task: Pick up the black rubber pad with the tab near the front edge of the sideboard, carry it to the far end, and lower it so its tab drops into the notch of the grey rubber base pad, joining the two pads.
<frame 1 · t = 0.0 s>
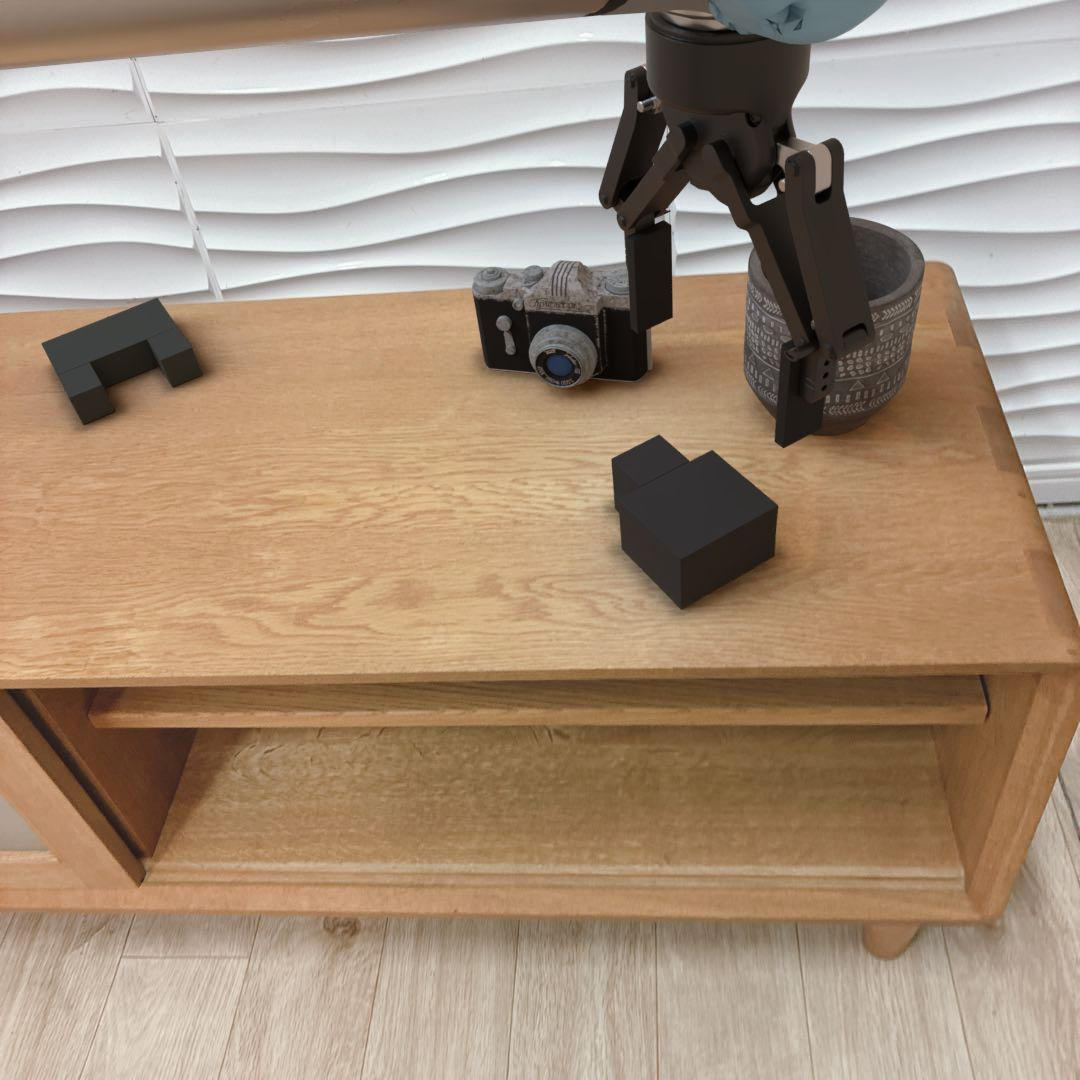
hand: (720, 375, 63), 16 cm above the table, tool pointing down, fingers open, 13 cm apart
camera: (562, 376, 91), on the table
planter: (819, 403, 85), on the table
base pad: (128, 372, 97), on the table
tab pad: (696, 552, 75), on the table
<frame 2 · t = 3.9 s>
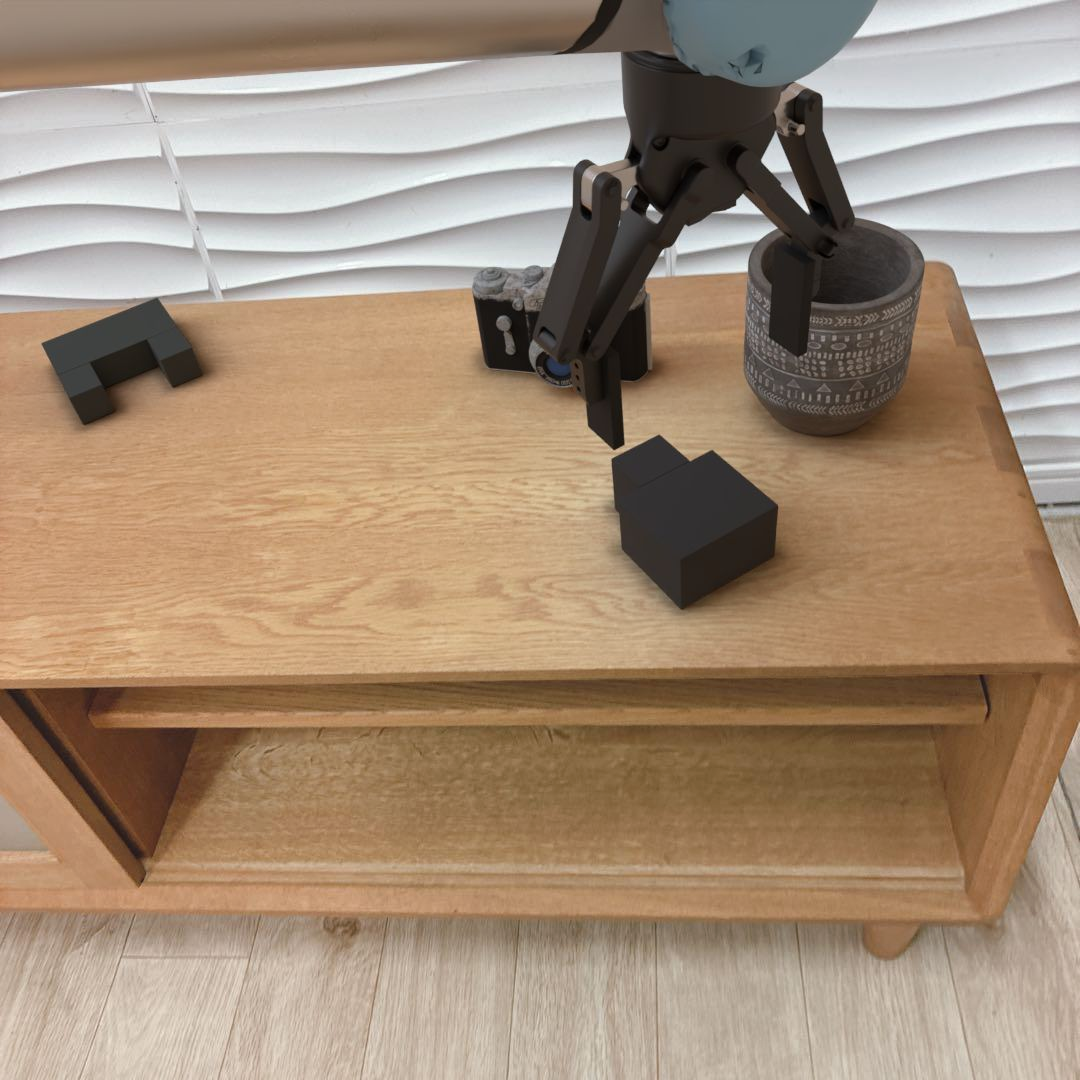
hand: (699, 389, 65), 15 cm above the table, tool pointing down, fingers open, 13 cm apart
nothing on the table moved.
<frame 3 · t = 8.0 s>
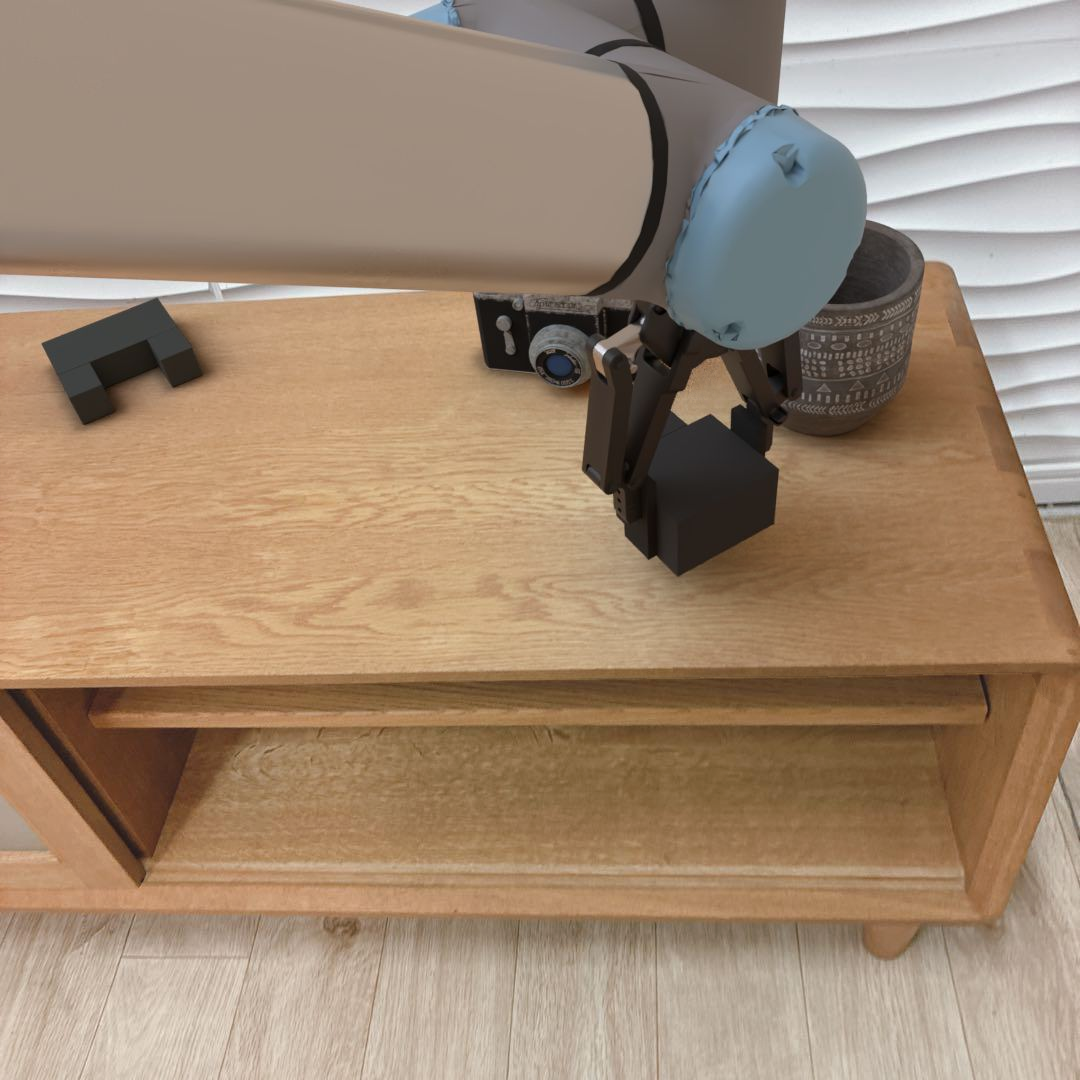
hand: (694, 516, 72), 4 cm above the table, tool pointing down, fingers closed on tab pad, 8 cm apart
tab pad: (694, 520, 73), point 3 cm above the table, touching gripper
everything else where it was.
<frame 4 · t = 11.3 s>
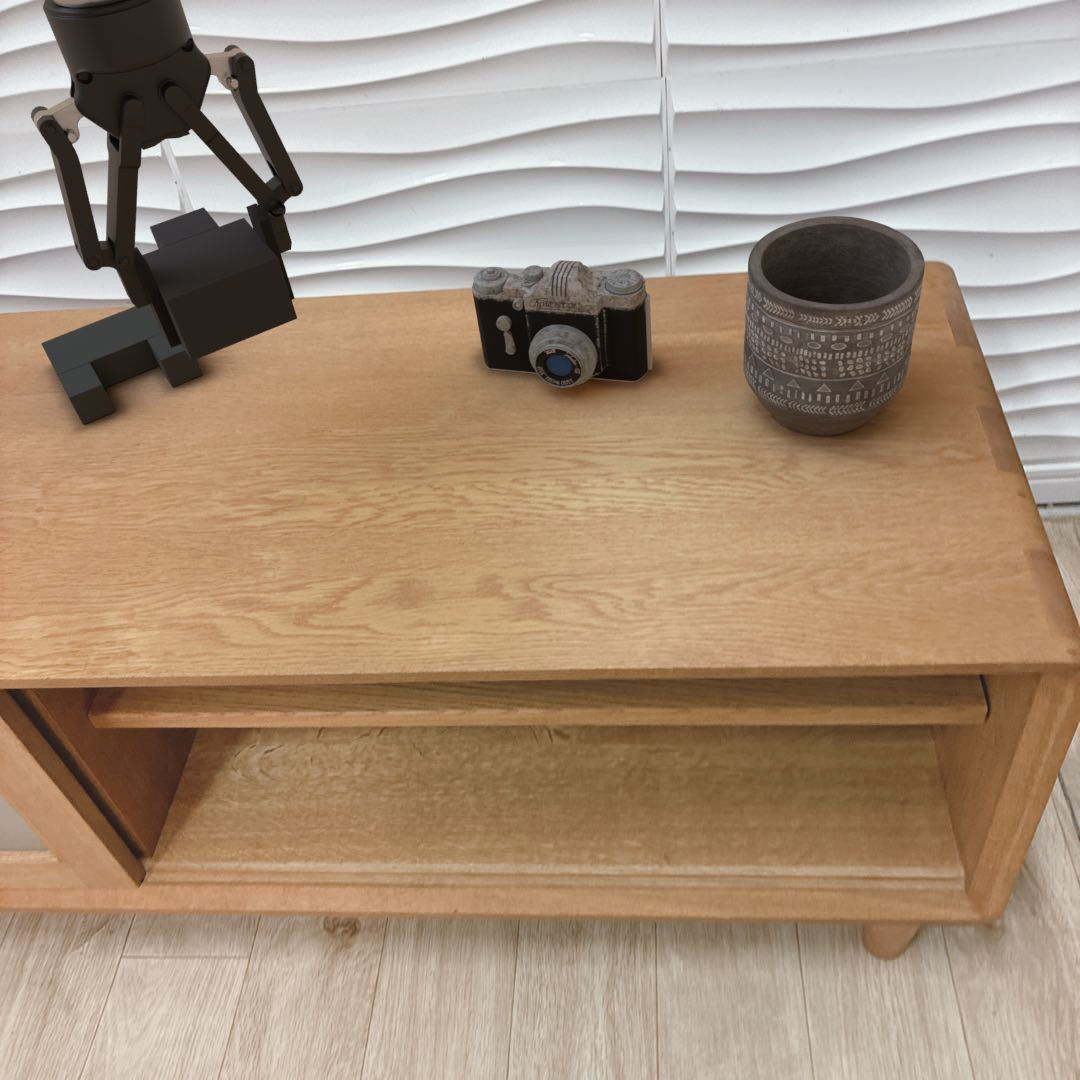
hand: (228, 314, 78), 13 cm above the table, tool pointing down, fingers closed on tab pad, 8 cm apart
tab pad: (229, 317, 78), point 13 cm above the table, touching gripper
everything else where it was.
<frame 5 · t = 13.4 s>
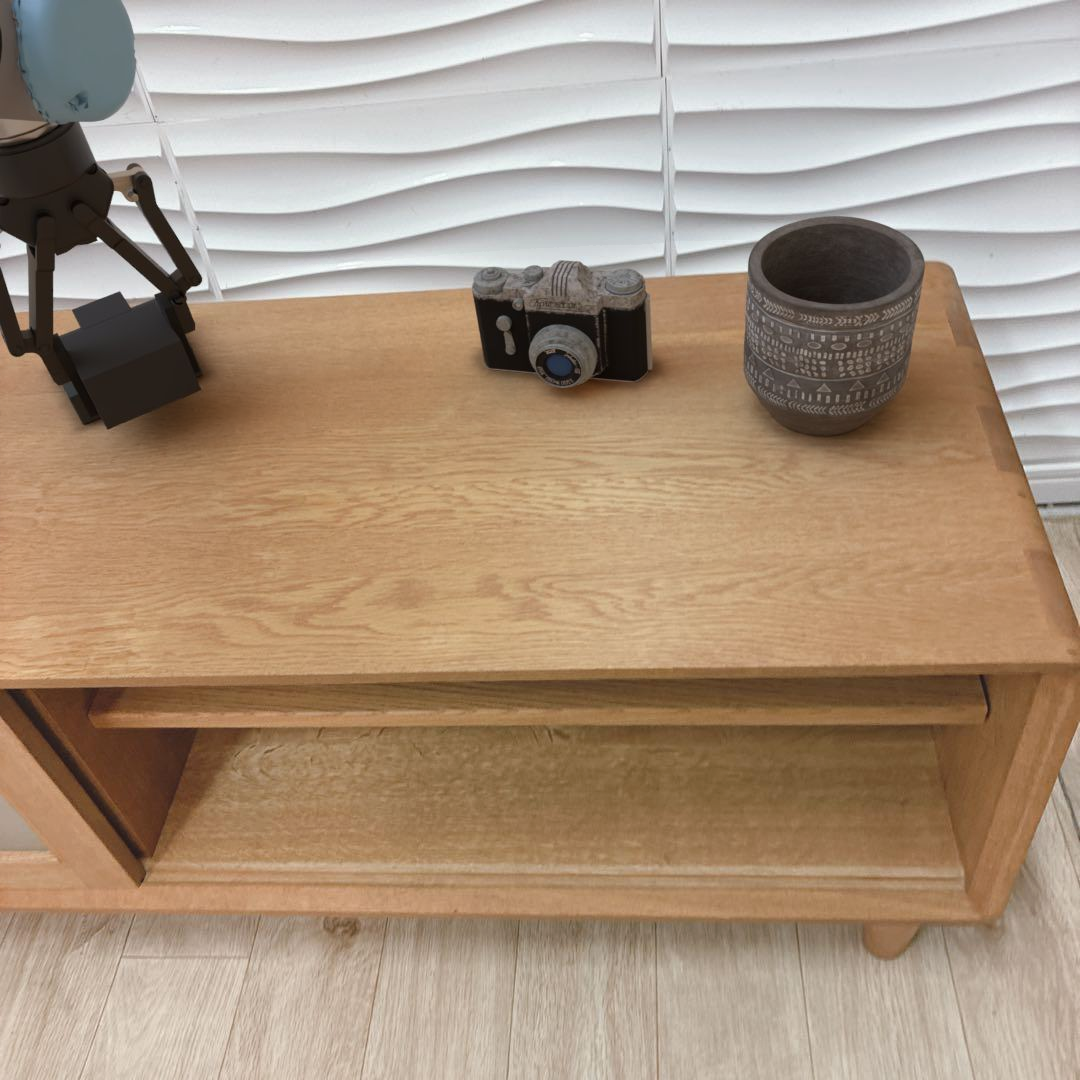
hand: (141, 386, 89), 4 cm above the table, tool pointing down, fingers closed on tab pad, 8 cm apart
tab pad: (142, 388, 89), point 4 cm above the table, touching gripper
everything else where it was.
when the fingers open (0 cm above the table, at t = 14.8 s): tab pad stays where it is, on the table.
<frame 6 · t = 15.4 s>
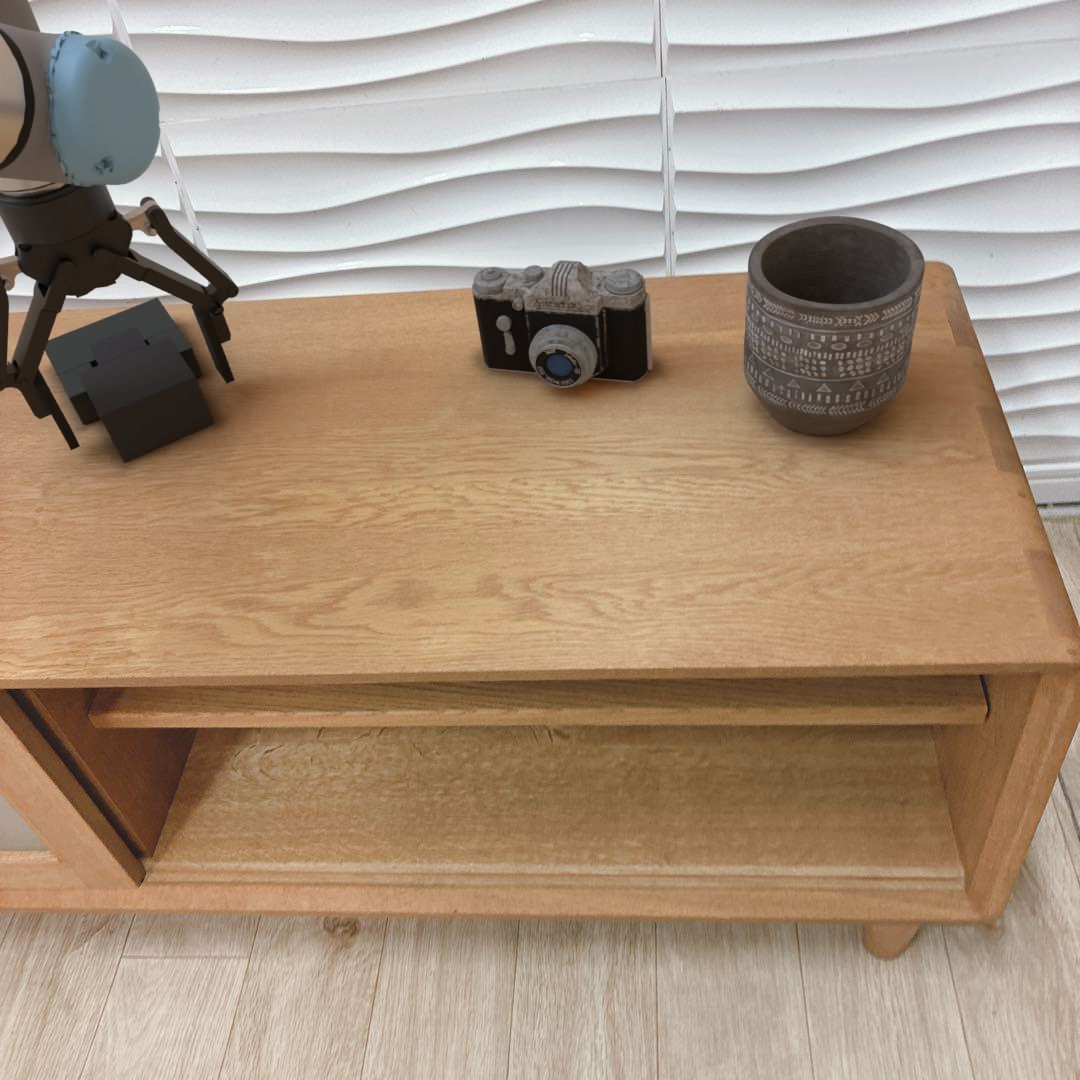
hand: (150, 406, 91), 2 cm above the table, tool pointing down, fingers open, 13 cm apart
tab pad: (157, 421, 92), on the table
everything else where it was.
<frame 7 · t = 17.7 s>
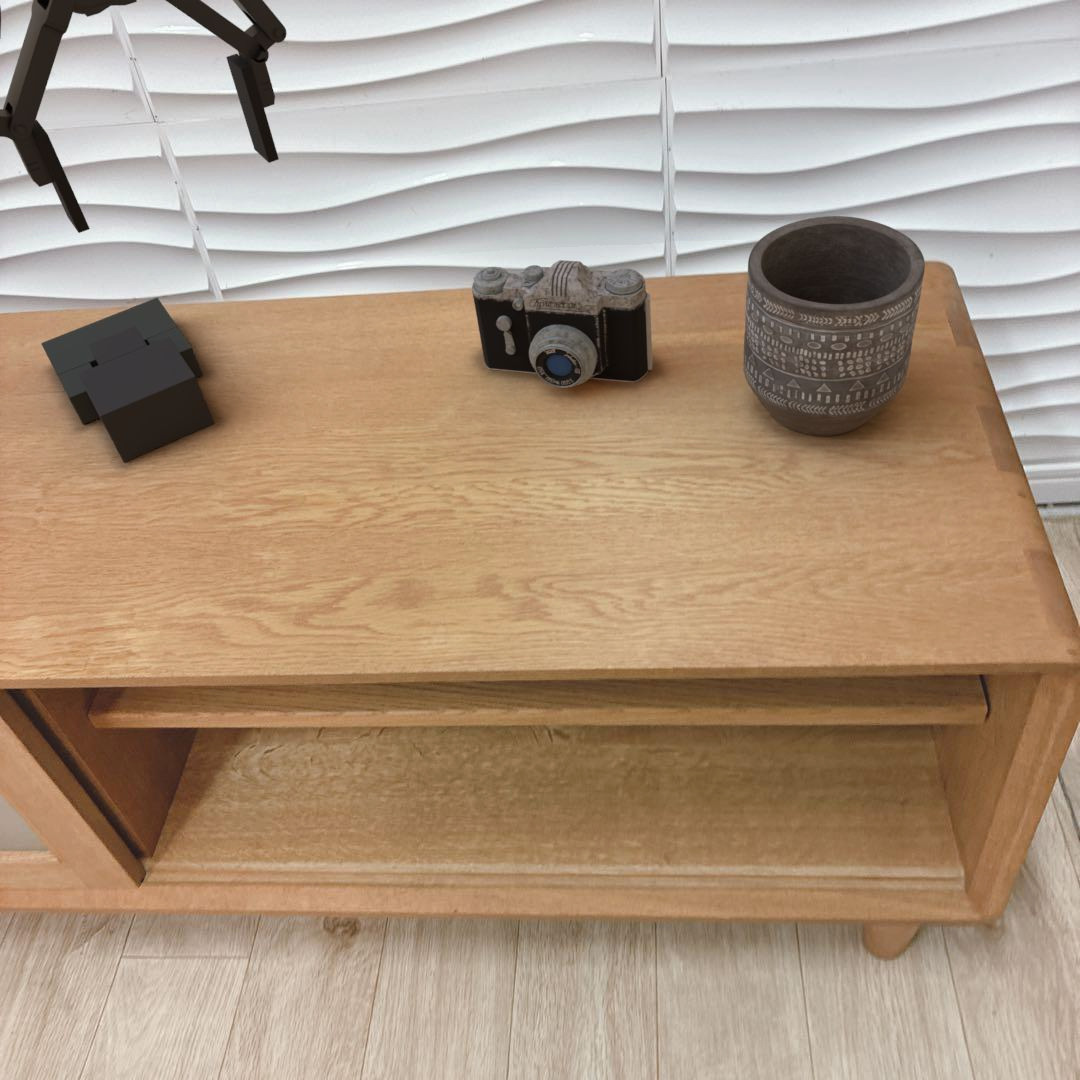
hand: (175, 188, 74), 22 cm above the table, tool pointing down, fingers open, 13 cm apart
nothing on the table moved.
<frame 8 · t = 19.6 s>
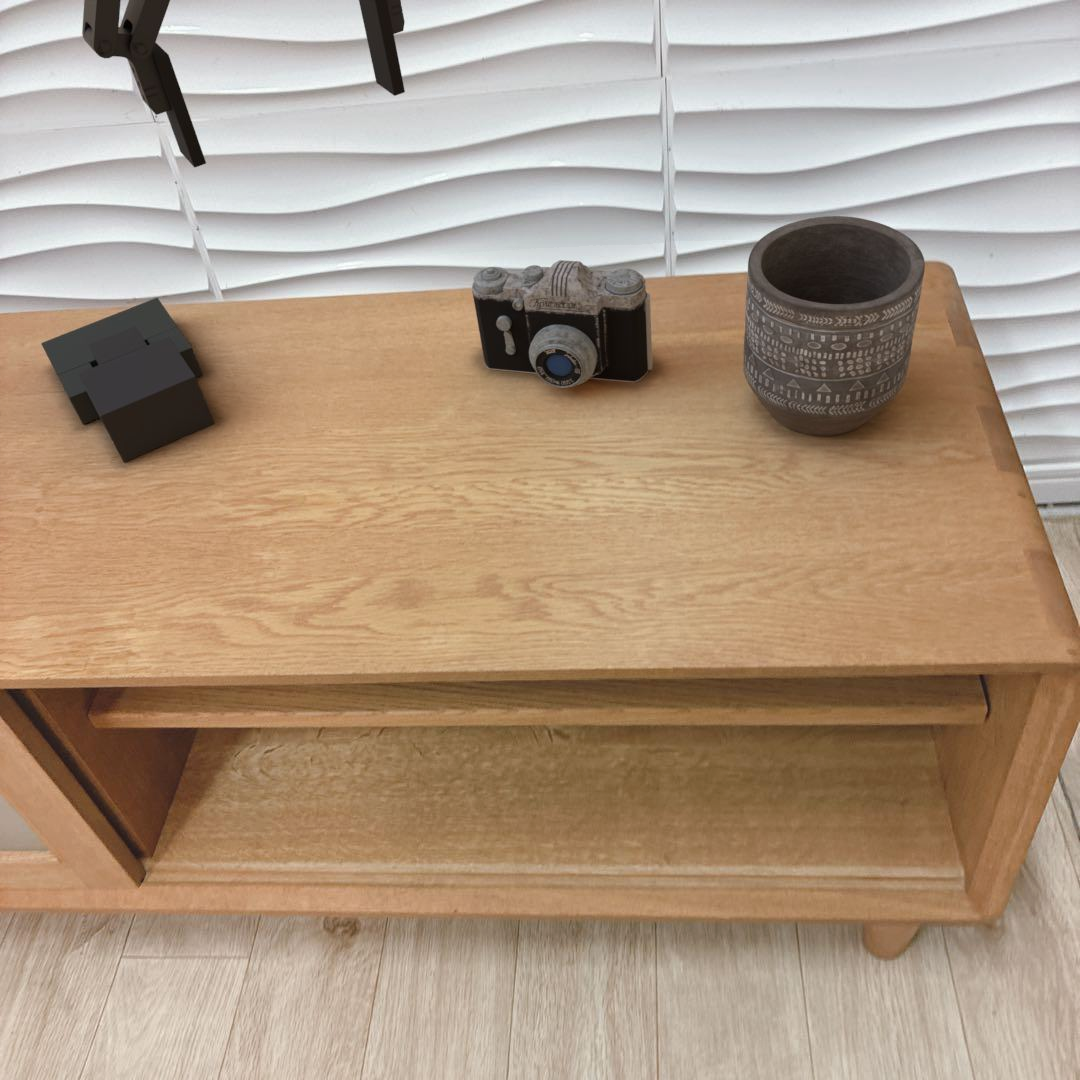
hand: (295, 122, 68), 27 cm above the table, tool pointing down, fingers open, 13 cm apart
nothing on the table moved.
at the end: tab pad 0.2 cm from the target spot on the table beside the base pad, on the table; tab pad tilted 0°; the gripper is holding nothing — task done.
